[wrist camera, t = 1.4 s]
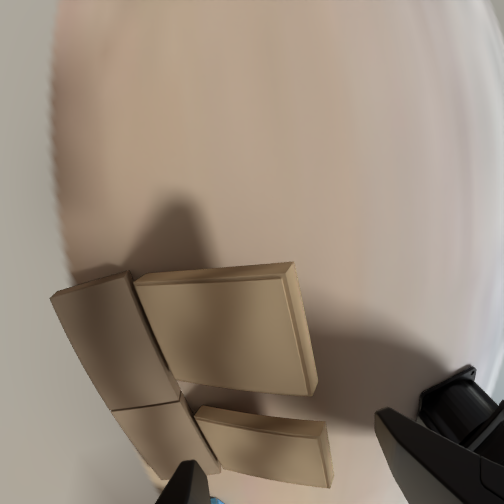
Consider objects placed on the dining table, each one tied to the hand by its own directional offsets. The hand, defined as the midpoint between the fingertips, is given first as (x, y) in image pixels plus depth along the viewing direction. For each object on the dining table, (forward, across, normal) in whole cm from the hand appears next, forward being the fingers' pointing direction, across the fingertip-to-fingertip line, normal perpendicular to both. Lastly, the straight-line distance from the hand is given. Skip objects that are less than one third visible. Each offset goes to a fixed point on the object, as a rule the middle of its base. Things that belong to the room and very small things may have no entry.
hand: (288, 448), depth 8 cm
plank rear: (+10, +2, +11) cm, 15 cm away
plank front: (+10, +2, +1) cm, 10 cm away
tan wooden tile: (+12, +9, +6) cm, 16 cm away
